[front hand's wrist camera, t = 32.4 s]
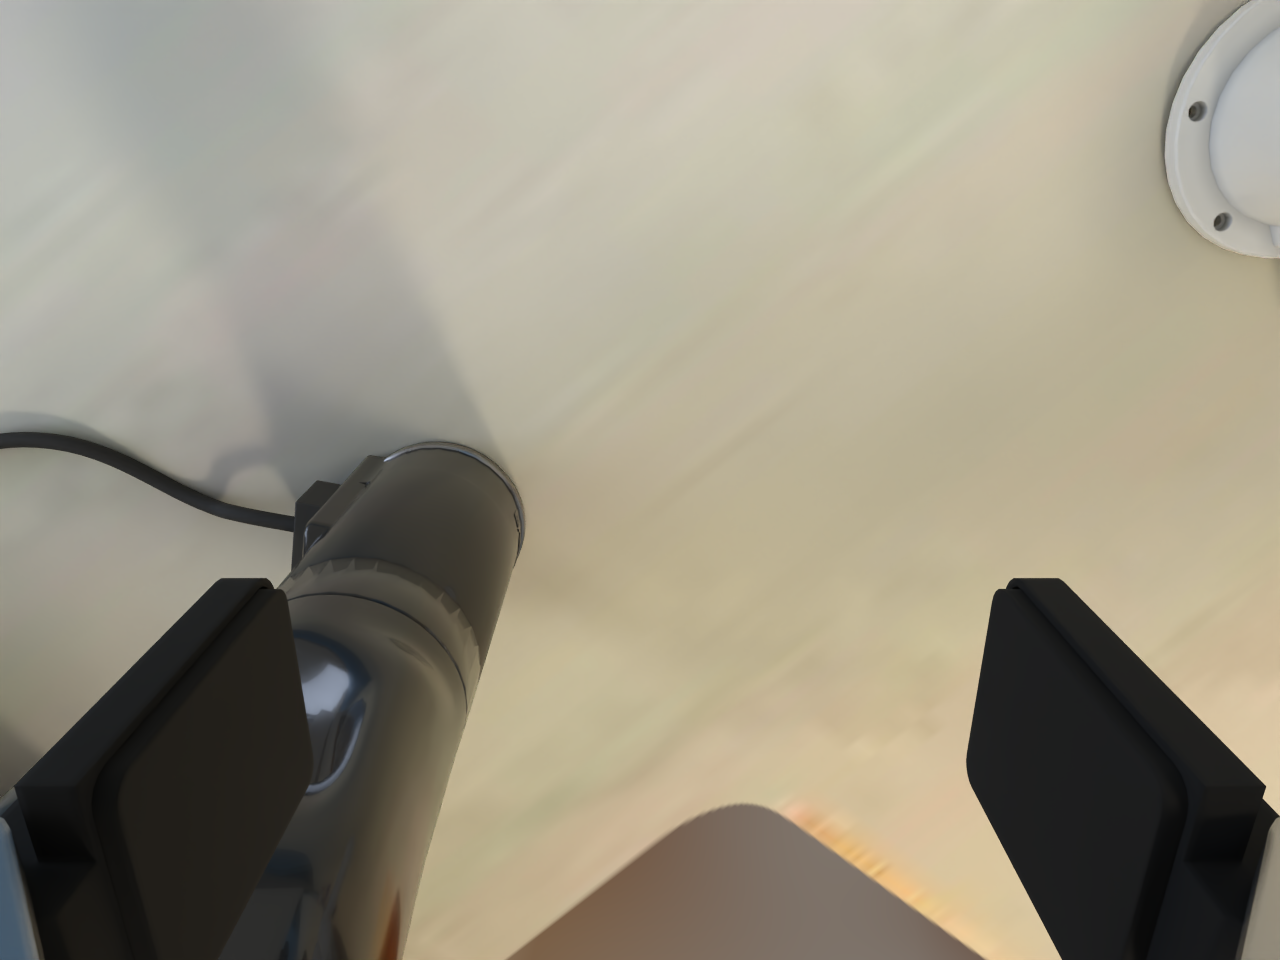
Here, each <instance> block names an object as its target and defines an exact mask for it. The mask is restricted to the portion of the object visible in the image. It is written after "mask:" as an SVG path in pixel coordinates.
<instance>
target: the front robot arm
mask: <svg viewBox="0 0 1280 960" xmlns="http://www.w3.org/2000/svg"><path fill="white" fill-rule="evenodd" d="M1189 109H1191V114H1190V116H1188V115H1189ZM1165 164H1166V172H1167V179H1168V184H1169V186H1170V189H1171V192H1172V195H1173V197H1174V200H1175V203H1176V205H1177V207H1178V208H1179V210H1180V211H1181V213H1182V214H1183V216H1184V217H1185V219H1186V221H1187V222H1188V223H1189V224H1190V225H1191V226H1192V227H1193V228H1194V229H1195V230H1196V231H1197V232H1198V233H1199V234H1200V235H1201V236H1202V237H1203V238H1205V239H1207V240H1208V241H1210V242H1212V243H1214V244H1215V245H1217V246H1219V247H1221V248H1222V249H1225V250H1229V251H1232V252H1235V253H1239V254H1242V255H1247V256H1254V257H1261V258H1280V0H1251V1H1250V2H1248V3H1246V4H1245V5H1243V6H1242V7H1241V8H1239V9H1238V10H1237V11H1236V12H1235V13H1234V14H1233V15H1232V16H1231V17H1229V18H1228V19H1227V20H1226V21H1225V22H1224V23H1223V24H1222V25H1220V26H1219V27H1218V28H1217V30H1216V31H1215V32H1214V33H1213V35H1212V36H1211V37H1210V38H1209V39H1208V41H1207V42H1206V43H1205V44H1204V45H1203V47H1202V48H1201V49H1200V50H1199V52H1198V53H1197V55H1196V57H1195V58H1194V60H1193V62H1192V63H1191V65H1190V67H1189V68H1188V70H1187V72H1186V73H1185V75H1184V77H1183V79H1182V81H1181V84H1180V86H1179V89H1178V91H1177V94H1176V96H1175V98H1174V101H1173V103H1172V107H1171V111H1170V116H1169V120H1168V124H1167V129H1166V139H1165ZM1215 218H1216V221H1215V223H1214V220H1215ZM313 765H314V758H313V750H312V744H311V738H310V732H309V726H308V720H307V714H306V708H305V702H304V696H303V690H302V684H301V678H300V672H299V666H298V660H297V654H296V648H295V642H294V636H293V630H292V624H291V618H290V612H289V606H288V600H287V596H286V594H285V592H284V591H283V590H282V589H274V587H273V585H272V583H271V582H270V581H269V580H268V579H267V578H221V579H220V580H218V581H217V582H215V583H214V584H213V586H212V587H211V588H210V589H209V590H208V591H207V592H206V593H205V594H204V595H203V596H202V597H201V598H200V599H199V600H198V601H197V602H196V603H195V604H194V605H193V606H192V607H191V608H190V609H189V610H188V611H187V612H186V613H185V614H184V615H183V616H182V617H181V618H180V619H179V620H178V621H177V622H176V623H175V624H174V625H173V626H172V627H171V628H170V629H169V630H168V631H167V632H166V633H165V634H164V635H163V636H162V637H161V638H160V639H159V640H158V641H157V642H156V643H155V644H154V645H153V646H152V647H151V648H150V649H149V650H148V651H147V652H146V653H145V654H144V655H143V656H142V657H141V658H140V659H139V660H138V661H137V662H136V663H135V664H134V665H133V666H132V667H131V668H130V669H129V670H128V671H127V672H126V673H125V674H124V675H123V676H122V677H121V678H120V680H119V681H118V682H117V683H116V684H115V685H114V686H113V687H112V688H111V689H110V690H109V691H108V692H107V693H106V694H105V695H104V696H103V697H102V698H101V699H100V700H99V701H98V702H97V703H96V704H95V705H94V706H93V707H92V708H91V709H90V710H89V711H88V712H87V713H86V714H85V715H84V716H83V717H82V718H81V719H80V720H79V721H78V722H77V723H76V724H75V725H74V726H73V727H72V728H71V729H70V730H69V731H68V732H67V733H66V734H65V735H64V736H63V737H62V738H61V739H60V740H59V741H58V742H57V743H56V744H55V745H54V746H53V747H52V748H51V749H50V750H49V751H48V752H47V753H46V754H45V755H44V756H43V757H42V758H41V759H40V760H39V761H38V762H37V763H36V764H35V765H34V766H33V767H32V768H31V769H30V770H29V771H28V773H27V774H26V775H25V776H24V777H23V778H22V779H21V780H20V781H19V782H18V783H17V784H16V785H15V786H14V789H15V792H16V795H17V799H16V801H15V802H14V803H13V804H12V805H11V806H10V807H9V808H8V809H7V810H6V811H5V812H4V813H3V814H2V815H1V816H0V960H218V959H219V957H220V955H221V953H222V951H223V949H224V947H225V945H226V943H227V941H228V939H229V938H230V936H231V934H232V932H233V930H234V928H235V926H236V924H237V922H238V920H239V918H240V917H241V915H242V913H243V911H244V909H245V907H246V905H247V903H248V901H249V899H250V897H251V895H252V894H253V892H254V890H255V888H256V886H257V884H258V882H259V880H260V878H261V876H262V874H263V873H264V871H265V869H266V867H267V865H268V863H269V861H270V859H271V857H272V855H273V853H274V852H275V850H276V848H277V846H278V844H279V842H280V840H281V838H282V836H283V834H284V832H285V831H286V829H287V827H288V825H289V823H290V821H291V819H292V817H293V815H294V813H295V811H296V810H297V808H298V806H299V804H300V802H301V800H302V798H303V796H304V794H305V792H306V790H307V789H308V786H309V784H310V782H311V778H312V774H313ZM966 765H967V774H968V778H969V782H970V784H971V786H972V789H973V790H974V792H975V794H976V796H977V798H978V800H979V802H980V804H981V806H982V808H983V810H984V811H985V813H986V815H987V817H988V819H989V821H990V823H991V825H992V827H993V829H994V831H995V832H996V834H997V836H998V838H999V840H1000V842H1001V844H1002V846H1003V848H1004V850H1005V852H1006V853H1007V855H1008V857H1009V859H1010V861H1011V863H1012V865H1013V867H1014V869H1015V871H1016V873H1017V874H1018V876H1019V878H1020V880H1021V882H1022V884H1023V886H1024V888H1025V890H1026V892H1027V894H1028V895H1029V897H1030V899H1031V901H1032V903H1033V905H1034V907H1035V909H1036V911H1037V913H1038V915H1039V917H1040V918H1041V920H1042V922H1043V924H1044V926H1045V928H1046V930H1047V932H1048V934H1049V936H1050V938H1051V939H1052V941H1053V943H1054V945H1055V947H1056V949H1057V951H1058V953H1059V955H1060V957H1061V959H1062V960H1280V816H1279V815H1278V814H1277V813H1276V812H1275V811H1274V810H1273V809H1272V808H1271V807H1270V806H1269V805H1268V804H1267V803H1266V802H1265V801H1264V799H1263V795H1264V792H1265V789H1266V786H1265V785H1264V784H1263V783H1262V782H1261V781H1260V780H1259V779H1258V778H1257V777H1256V776H1255V775H1254V774H1253V773H1252V771H1251V770H1250V769H1249V768H1248V767H1247V766H1246V765H1245V764H1244V763H1243V762H1242V761H1241V760H1240V759H1239V758H1238V757H1237V756H1236V755H1235V754H1234V753H1233V752H1232V751H1231V750H1230V749H1229V748H1228V747H1227V746H1226V745H1225V744H1224V743H1223V742H1222V741H1221V740H1220V739H1219V738H1218V737H1217V736H1216V735H1215V734H1214V733H1213V732H1212V731H1211V730H1210V729H1209V728H1208V727H1207V726H1206V725H1205V724H1204V723H1203V722H1202V721H1201V720H1200V719H1199V718H1198V717H1197V716H1196V715H1195V714H1194V713H1193V712H1192V711H1191V710H1190V709H1189V708H1188V707H1187V706H1186V705H1185V704H1184V703H1183V702H1182V701H1181V700H1180V699H1179V698H1178V697H1177V696H1176V695H1175V694H1174V693H1173V692H1172V691H1171V690H1170V689H1169V688H1168V687H1167V686H1166V685H1165V684H1164V683H1163V682H1162V681H1161V680H1160V678H1159V677H1158V676H1157V675H1156V674H1155V673H1154V672H1153V671H1152V670H1151V669H1150V668H1149V667H1148V666H1147V665H1146V664H1145V663H1144V662H1143V661H1142V660H1141V659H1140V658H1139V657H1138V656H1137V655H1136V654H1135V653H1134V652H1133V651H1132V650H1131V649H1130V648H1129V647H1128V646H1127V645H1126V644H1125V643H1124V642H1123V641H1122V640H1121V639H1120V638H1119V637H1118V636H1117V635H1116V634H1115V633H1114V632H1113V631H1112V630H1111V629H1110V628H1109V627H1108V626H1107V625H1106V624H1105V623H1104V622H1103V621H1102V620H1101V619H1100V618H1099V617H1098V616H1097V615H1096V614H1095V613H1094V612H1093V611H1092V610H1091V609H1090V608H1089V607H1088V606H1087V605H1086V604H1085V603H1084V602H1083V601H1082V600H1081V599H1080V598H1079V597H1078V596H1077V595H1076V594H1075V593H1074V592H1073V591H1072V590H1071V589H1070V588H1069V587H1068V586H1067V584H1066V583H1065V582H1063V581H1062V580H1060V579H1059V578H1013V579H1012V580H1011V581H1010V582H1009V583H1008V585H1007V587H1006V589H998V590H997V591H996V592H995V594H994V596H993V600H992V606H991V612H990V618H989V624H988V630H987V636H986V642H985V648H984V654H983V660H982V666H981V672H980V678H979V684H978V690H977V696H976V702H975V708H974V714H973V720H972V726H971V732H970V738H969V744H968V750H967V758H966Z"/></svg>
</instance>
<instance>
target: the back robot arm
mask: <svg viewBox="0 0 1280 960" xmlns="http://www.w3.org/2000/svg"><path fill="white" fill-rule="evenodd" d="M15 447H34V448H47V449H55V450H61V451H67V452H71V453H75V454H79V455H82V456H85V457H89V458H92V459H95V460H97V461H100V462H103V463H105V464H108V465H110V466H112V467H115V468H117V469H119V470H121V471H123V472H125V473H127V474H129V475H132V476H134V477H136V478H137V479H139V480H141V481H143V482H145V483H147V484H149V485H151V486H153V487H155V488H157V489H159V490H160V491H162V492H164V493H166V494H168V495H170V496H172V497H174V498H176V499H178V500H180V501H182V502H184V503H186V504H188V505H190V506H193V507H195V508H197V509H200V510H202V511H205V512H207V513H210V514H212V515H215V516H218V517H221V518H225V519H229V520H233V521H238V522H242V523H247V524H252V525H257V526H262V527H268V528H273V529H279V530H285V531H290V532H294V537H293V552H292V567H291V572H290V573H289V575H288V576H287V577H286V578H285V579H284V581H283V582H282V583H281V584H280V585H279V587H278V588H277V589H282V590H283V591H284V592H285V594H286V596H287V600H288V606H289V612H290V618H291V624H292V630H293V636H294V642H295V648H296V654H297V660H298V666H299V672H300V678H301V684H302V690H303V696H304V702H305V708H306V714H307V720H308V726H309V732H310V738H311V744H312V750H313V758H314V765H313V774H312V778H311V782H310V784H309V786H308V789H307V790H306V792H305V794H304V796H303V798H302V800H301V802H300V804H299V806H298V808H297V810H296V811H295V813H294V815H293V817H292V819H291V821H290V823H289V825H288V827H287V829H286V831H285V832H284V834H283V836H282V838H281V840H280V842H279V844H278V846H277V848H276V850H275V852H274V853H273V855H272V857H271V859H270V861H269V863H268V865H267V867H266V869H265V871H264V873H263V874H262V876H261V878H260V880H259V882H258V884H257V886H256V888H255V890H254V892H253V894H252V895H251V897H250V899H249V901H248V903H247V905H246V907H245V909H244V911H243V913H242V915H241V917H240V918H239V920H238V922H237V924H236V926H235V928H234V930H233V932H232V934H231V936H230V938H229V939H228V941H227V943H226V945H225V947H224V949H223V951H222V953H221V955H220V957H219V959H218V960H402V959H403V954H404V950H405V945H406V941H407V936H408V931H409V927H410V922H411V918H412V913H413V909H414V904H415V900H416V896H417V892H418V888H419V884H420V880H421V876H422V872H423V868H424V864H425V860H426V856H427V853H428V849H429V846H430V843H431V839H432V836H433V832H434V829H435V826H436V822H437V819H438V815H439V812H440V808H441V805H442V801H443V797H444V794H445V790H446V787H447V783H448V780H449V776H450V773H451V769H452V766H453V763H454V759H455V756H456V753H457V750H458V747H459V744H460V740H461V737H462V734H463V731H464V728H465V725H466V722H467V718H468V715H469V712H470V709H471V705H472V702H473V699H474V695H475V692H476V689H477V685H478V682H479V679H480V676H481V672H482V669H483V666H484V663H485V659H486V656H487V653H488V649H489V646H490V643H491V640H492V636H493V633H494V630H495V627H496V623H497V620H498V617H499V613H500V610H501V607H502V604H503V600H504V597H505V594H506V591H507V587H508V584H509V581H510V577H511V574H512V571H513V568H514V566H515V563H516V560H517V558H518V556H519V553H520V550H521V547H522V544H523V540H524V535H525V513H524V508H523V504H522V501H521V498H520V496H519V494H518V491H517V490H516V488H515V486H514V484H513V483H512V481H511V480H510V478H509V477H508V476H507V475H506V474H505V472H504V471H503V470H502V469H501V468H500V467H499V466H498V465H496V464H495V463H494V462H493V461H491V460H490V459H488V458H487V457H486V456H484V455H482V454H480V453H479V452H477V451H474V450H472V449H470V448H467V447H464V446H461V445H457V444H453V443H446V442H425V443H418V444H414V445H410V446H407V447H405V448H402V449H400V450H398V451H396V452H394V453H392V454H391V455H389V456H388V457H377V456H372V455H370V456H367V457H366V458H365V459H364V460H363V462H362V463H361V464H360V465H359V466H358V467H357V468H356V469H355V470H354V472H353V473H352V474H351V475H350V476H349V477H348V478H347V479H346V480H345V482H344V483H343V484H342V485H339V484H334V483H329V482H323V481H316V482H315V483H314V484H313V485H312V486H311V487H310V488H309V489H308V490H307V491H306V492H305V493H304V494H303V495H302V496H301V497H300V498H299V499H298V500H297V501H296V506H295V517H293V516H287V515H282V514H276V513H270V512H265V511H260V510H254V509H249V508H245V507H240V506H236V505H231V504H227V503H224V502H221V501H218V500H216V499H213V498H211V497H208V496H205V495H203V494H201V493H199V492H197V491H194V490H192V489H190V488H188V487H186V486H184V485H182V484H180V483H178V482H176V481H174V480H172V479H171V478H169V477H167V476H165V475H163V474H161V473H159V472H157V471H156V470H154V469H152V468H150V467H148V466H146V465H144V464H142V463H140V462H138V461H136V460H134V459H132V458H130V457H128V456H126V455H123V454H121V453H119V452H117V451H114V450H112V449H109V448H107V447H104V446H101V445H98V444H95V443H92V442H89V441H86V440H82V439H78V438H74V437H69V436H63V435H57V434H49V433H36V432H16V433H4V434H0V449H3V448H15ZM16 799H17V795H16V792H15V789H14V787H13V788H12V789H10V790H9V791H8V792H7V793H6V794H5V795H3V796H2V797H1V798H0V816H1V815H2V814H3V813H4V812H5V811H6V810H7V809H8V808H9V807H10V806H11V805H12V804H13V803H14V802H15V801H16Z"/></svg>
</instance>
